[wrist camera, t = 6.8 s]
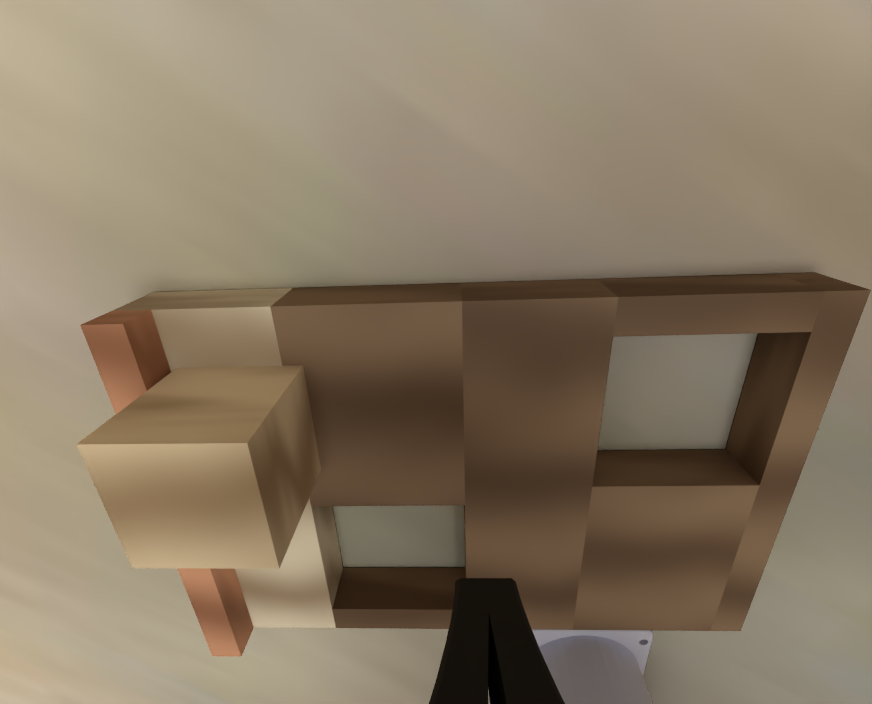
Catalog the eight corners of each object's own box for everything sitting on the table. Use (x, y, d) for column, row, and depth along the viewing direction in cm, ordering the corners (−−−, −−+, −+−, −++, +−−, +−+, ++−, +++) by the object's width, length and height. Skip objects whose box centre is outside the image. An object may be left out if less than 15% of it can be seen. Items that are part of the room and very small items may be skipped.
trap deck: (713, 586, 24) (759, 662, 21) (246, 585, 26) (212, 656, 22) (815, 272, 17) (913, 303, 13) (154, 291, 18) (80, 324, 15)
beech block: (321, 469, 19) (279, 568, 14) (209, 469, 19) (132, 568, 14) (303, 365, 17) (247, 443, 12) (177, 367, 17) (76, 444, 12)
